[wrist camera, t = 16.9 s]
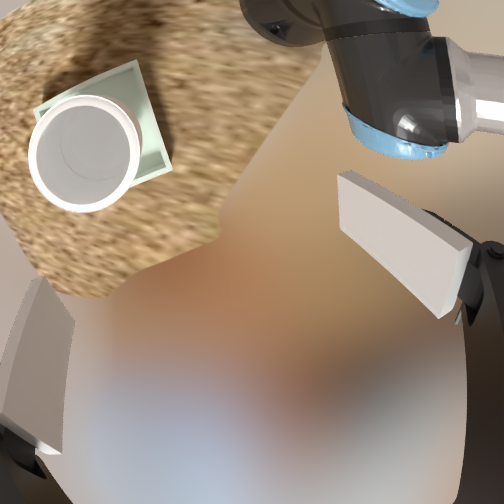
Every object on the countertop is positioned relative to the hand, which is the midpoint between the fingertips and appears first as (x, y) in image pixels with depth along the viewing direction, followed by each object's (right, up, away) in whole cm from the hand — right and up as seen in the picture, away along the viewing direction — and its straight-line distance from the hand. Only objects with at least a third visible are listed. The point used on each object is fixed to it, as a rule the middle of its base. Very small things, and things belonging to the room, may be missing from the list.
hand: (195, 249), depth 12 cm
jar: (-17, +15, +21) cm, 31 cm away
